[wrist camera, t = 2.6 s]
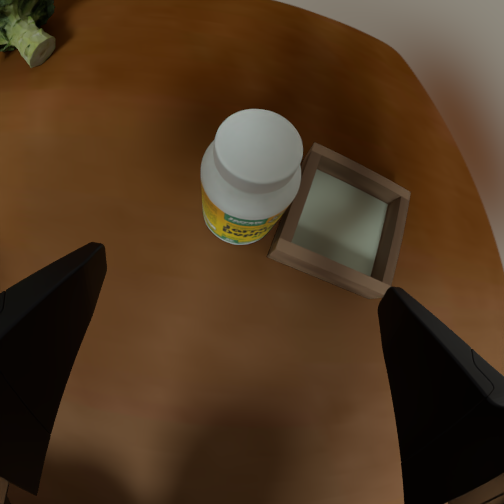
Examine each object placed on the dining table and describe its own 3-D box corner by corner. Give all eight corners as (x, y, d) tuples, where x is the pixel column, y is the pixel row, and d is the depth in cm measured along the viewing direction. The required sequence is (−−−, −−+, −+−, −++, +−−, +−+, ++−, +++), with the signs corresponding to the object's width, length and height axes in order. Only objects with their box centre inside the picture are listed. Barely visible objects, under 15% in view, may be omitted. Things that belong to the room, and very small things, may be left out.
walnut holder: (392, 203, 24) (410, 192, 22) (368, 298, 22) (388, 296, 20) (303, 159, 24) (314, 142, 21) (266, 256, 22) (275, 249, 19)
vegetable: (-20, 110, 18) (-60, 43, 12) (50, 87, 29) (4, 32, 23) (37, 9, 14) (-13, -45, 8) (107, 16, 24) (52, -35, 18)
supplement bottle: (262, 170, 23) (295, 91, 14) (285, 235, 22) (336, 184, 13) (194, 186, 22) (188, 107, 13) (213, 255, 21) (217, 212, 12)
